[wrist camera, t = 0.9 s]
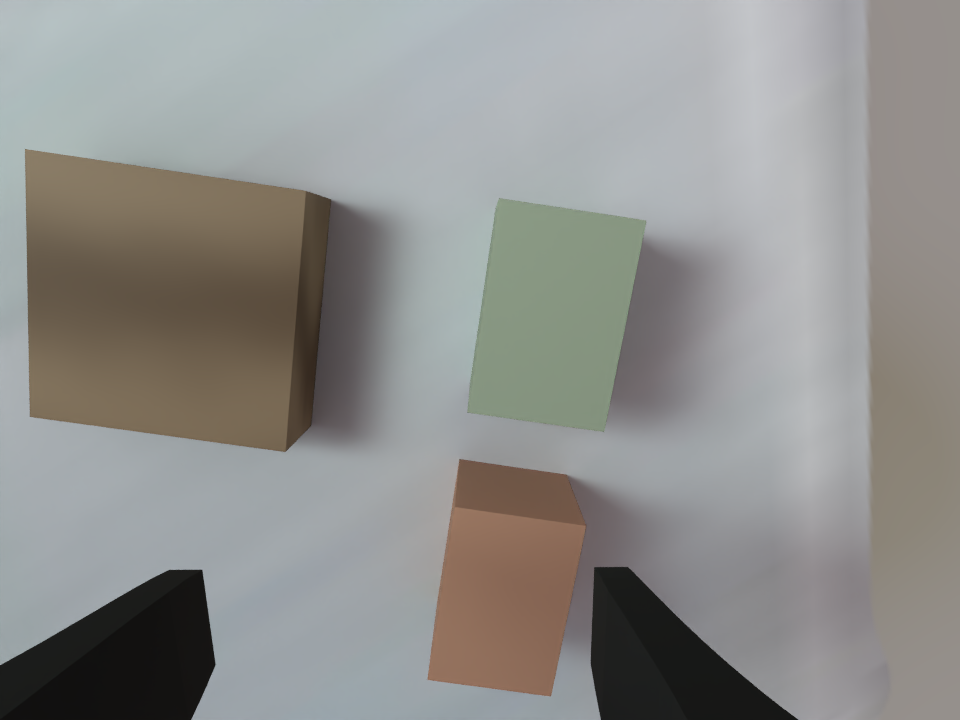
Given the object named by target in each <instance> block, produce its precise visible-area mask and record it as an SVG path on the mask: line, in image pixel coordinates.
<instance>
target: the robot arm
mask: <svg viewBox="0 0 960 720" xmlns="http://www.w3.org/2000/svg"><path fill="white" fill-rule="evenodd" d="M214 667H215V658H214V651H213V643H212V636H211V629H210V622H209V615H208V608H207V601H206V593H205V586H204V579H203V572H202V570H168V571H166V572H164V573H162V574H160V575H158V576H156V577H154V578H152V579H150V580H148V581H147V582H145V583H143V584H141V585H139V586H138V587H136V588H134V589H132V590H131V591H129V592H127V593H125V594H124V595H122V596H120V597H118V598H117V599H115V600H113V601H112V602H110V603H108V604H107V605H105V606H103V607H101V608H100V609H98V610H96V611H95V612H93V613H91V614H89V615H88V616H86V617H84V618H83V619H81V620H79V621H78V622H76V623H74V624H72V625H71V626H69V627H67V628H66V629H64V630H62V631H60V632H59V633H57V634H55V635H54V636H52V637H50V638H48V639H47V640H45V641H43V642H42V643H40V644H38V645H36V646H34V647H33V648H31V649H29V650H27V651H25V652H23V653H22V654H20V655H18V656H16V657H14V658H13V659H11V660H9V661H7V662H5V663H4V664H2V665H0V720H191V719H192V717H193V715H194V712H195V710H196V708H197V706H198V704H199V702H200V700H201V697H202V695H203V693H204V691H205V688H206V686H207V684H208V681H209V679H210V677H211V674H212V672H213V670H214ZM591 668H592V674H593V679H594V685H595V691H596V696H597V701H598V707H599V712H600V717H601V720H798V719H797V718H795V717H794V716H793V715H791V714H790V713H789V712H787V711H786V710H785V709H783V708H782V707H780V706H779V705H778V704H777V703H775V702H774V701H773V700H772V699H770V698H769V697H768V696H766V695H765V694H764V693H763V692H761V691H760V690H759V689H758V688H757V687H755V686H754V685H753V684H752V683H751V682H749V681H748V680H747V679H746V678H745V677H744V676H742V675H741V674H740V673H739V672H738V671H736V670H735V669H734V668H733V667H732V666H730V665H729V664H728V663H727V662H726V661H725V660H723V659H722V658H721V657H720V656H719V655H718V654H717V653H716V652H715V651H713V650H712V649H711V648H710V647H709V646H708V645H707V644H706V643H705V642H703V641H702V640H701V639H700V638H699V637H698V636H697V635H696V634H695V633H694V632H693V631H692V630H691V629H690V628H689V627H687V626H686V625H685V624H684V623H683V622H682V621H681V620H680V619H679V618H678V617H677V616H676V615H675V614H674V613H673V612H672V611H671V610H670V609H669V608H668V607H667V606H666V605H665V604H664V603H663V602H662V601H661V600H660V599H659V598H658V597H657V596H656V595H655V594H654V593H653V592H652V591H651V590H650V589H649V588H648V587H647V586H646V585H645V584H644V583H643V582H642V581H641V580H640V579H639V578H638V577H637V576H636V575H635V574H634V573H633V572H632V571H631V570H630V569H629V568H628V567H594V592H593V617H592V642H591Z"/></svg>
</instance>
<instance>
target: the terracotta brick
mask: <svg viewBox="0 0 960 720" xmlns="http://www.w3.org/2000/svg"><path fill="white" fill-rule="evenodd" d="M585 530H586V524H585V522H584V519H583V516H582V514H581V511H580V509H579V506H578V503H577V501H576V498H575V496H574V493H573V490H572V488H571V485H570V483H569V480H568V477H567V475H564V474H557V473H550V472H544V471H537V470H530V469H523V468H516V467H509V466H502V465H496V464H489V463H482V462H475V461H468V460H461V459H459V466H458V472H457V479H456V485H455V491H454V498H453V504H452V511H451V517H450V524H449V530H448V537H447V543H446V550H445V556H444V562H443V569H442V575H441V582H440V588H439V595H438V601H437V609H436V617H435V624H434V632H433V640H432V648H431V656H430V664H429V672H428V680H433V681H440V682H448V683H455V684H463V685H470V686H477V687H485V688H492V689H500V690H507V691H514V692H522V693H529V694H537V695H544V696H551V694H552V689H553V684H554V679H555V674H556V670H557V665H558V660H559V655H560V650H561V645H562V641H563V636H564V631H565V626H566V621H567V616H568V612H569V607H570V602H571V597H572V592H573V587H574V583H575V578H576V573H577V568H578V563H579V558H580V554H581V549H582V544H583V539H584V534H585Z"/></svg>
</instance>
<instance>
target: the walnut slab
mask: <svg viewBox="0 0 960 720" xmlns="http://www.w3.org/2000/svg"><path fill="white" fill-rule="evenodd" d="M25 172H26V227H27V282H28V336H29V391H30V417H35V418H43V419H50V420H57V421H64V422H72V423H79V424H86V425H94V426H101V427H108V428H115V429H123V430H130V431H137V432H144V433H152V434H159V435H166V436H174V437H181V438H188V439H195V440H203V441H210V442H217V443H225V444H232V445H239V446H246V447H254V448H261V449H268V450H276V451H283V452H286V451H287V450H288V449H289V448H290V447H291V446H292V445H293V444H294V443H295V442H296V441H297V440H298V439H299V438H300V436H301V435H302V434H303V433H304V432H305V431H306V430H307V429H308V428H309V427H310V426H311V421H312V409H313V398H314V387H315V375H316V364H317V352H318V341H319V330H320V318H321V307H322V296H323V284H324V273H325V261H326V250H327V239H328V227H329V216H330V205H331V199H328V198H325V197H322V196H319V195H316V194H313V193H310V192H307V191H303V190H296V189H289V188H282V187H276V186H269V185H262V184H256V183H249V182H242V181H235V180H229V179H222V178H215V177H209V176H202V175H195V174H188V173H182V172H175V171H168V170H161V169H155V168H148V167H141V166H135V165H128V164H121V163H114V162H108V161H101V160H94V159H88V158H81V157H74V156H67V155H61V154H54V153H47V152H41V151H34V150H27V149H25Z"/></svg>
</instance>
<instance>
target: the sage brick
mask: <svg viewBox="0 0 960 720" xmlns="http://www.w3.org/2000/svg"><path fill="white" fill-rule="evenodd" d="M645 225H646V221H645V220H639V219H632V218H626V217H619V216H612V215H606V214H599V213H593V212H586V211H579V210H573V209H566V208H560V207H553V206H546V205H540V204H533V203H527V202H520V201H513V200H507V199H500V198H499V200H498V203H497V206H496V210H495V217H494V224H493V230H492V237H491V244H490V251H489V258H488V264H487V271H486V278H485V285H484V292H483V299H482V305H481V312H480V319H479V326H478V333H477V340H476V346H475V353H474V360H473V367H472V374H471V380H470V391H469V402H468V412H467V413H475V414H482V415H489V416H496V417H503V418H510V419H517V420H524V421H531V422H538V423H545V424H552V425H559V426H566V427H573V428H580V429H587V430H594V431H602V432H604V430H605V425H606V420H607V415H608V410H609V405H610V400H611V395H612V390H613V385H614V380H615V375H616V370H617V365H618V360H619V355H620V350H621V345H622V340H623V335H624V330H625V325H626V320H627V315H628V310H629V305H630V300H631V295H632V290H633V285H634V280H635V275H636V270H637V265H638V260H639V255H640V250H641V245H642V240H643V235H644V230H645Z"/></svg>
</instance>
